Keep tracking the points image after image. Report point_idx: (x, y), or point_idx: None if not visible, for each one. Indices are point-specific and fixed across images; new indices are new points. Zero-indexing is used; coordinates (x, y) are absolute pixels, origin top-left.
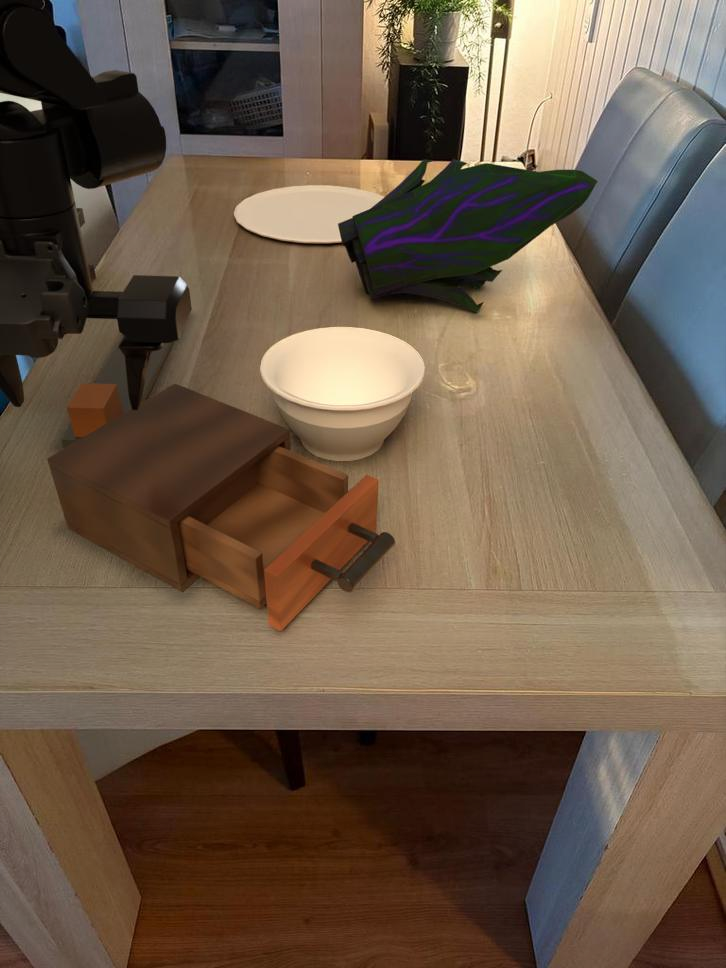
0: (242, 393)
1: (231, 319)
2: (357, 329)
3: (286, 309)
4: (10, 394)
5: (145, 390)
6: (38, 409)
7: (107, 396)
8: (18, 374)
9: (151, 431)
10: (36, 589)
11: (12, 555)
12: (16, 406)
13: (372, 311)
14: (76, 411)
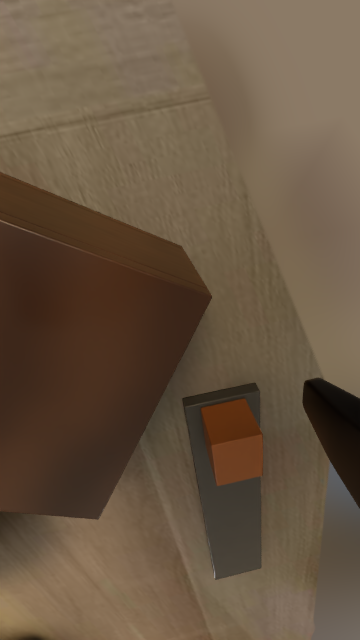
0: None
1: (166, 581)
2: None
3: (118, 606)
4: (345, 405)
5: (198, 483)
6: (307, 427)
7: (217, 465)
8: (350, 482)
9: (54, 417)
10: (163, 98)
11: (234, 172)
12: (313, 379)
13: (29, 629)
14: (248, 431)
